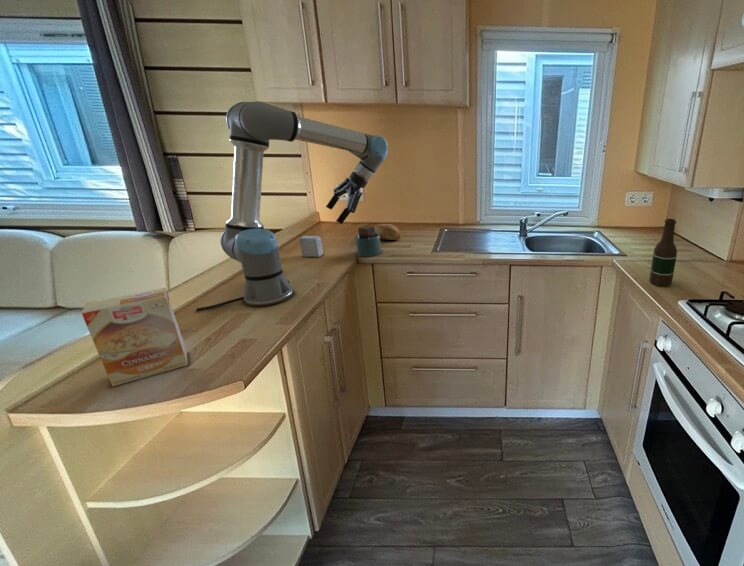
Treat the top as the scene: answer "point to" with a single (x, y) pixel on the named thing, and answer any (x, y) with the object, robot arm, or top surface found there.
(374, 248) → the teal blue cylinder
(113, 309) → the coffeecake box
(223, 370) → the top surface
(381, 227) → the bread roll
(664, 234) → the beer bottle
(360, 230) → the block
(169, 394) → the top surface
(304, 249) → the medicine box
